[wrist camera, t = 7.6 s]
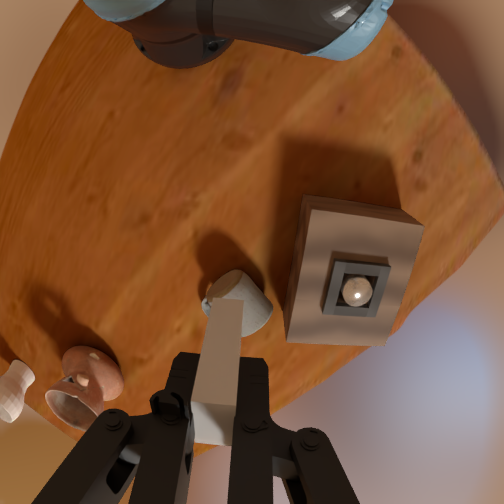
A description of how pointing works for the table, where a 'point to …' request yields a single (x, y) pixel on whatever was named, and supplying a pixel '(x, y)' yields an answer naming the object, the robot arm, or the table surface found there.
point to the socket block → (348, 270)
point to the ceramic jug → (84, 386)
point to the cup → (14, 390)
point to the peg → (355, 289)
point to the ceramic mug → (245, 289)
